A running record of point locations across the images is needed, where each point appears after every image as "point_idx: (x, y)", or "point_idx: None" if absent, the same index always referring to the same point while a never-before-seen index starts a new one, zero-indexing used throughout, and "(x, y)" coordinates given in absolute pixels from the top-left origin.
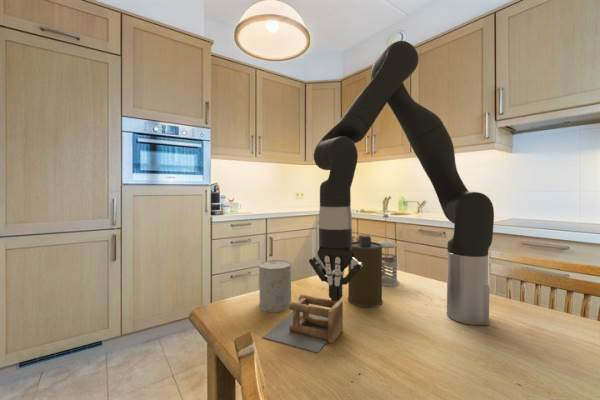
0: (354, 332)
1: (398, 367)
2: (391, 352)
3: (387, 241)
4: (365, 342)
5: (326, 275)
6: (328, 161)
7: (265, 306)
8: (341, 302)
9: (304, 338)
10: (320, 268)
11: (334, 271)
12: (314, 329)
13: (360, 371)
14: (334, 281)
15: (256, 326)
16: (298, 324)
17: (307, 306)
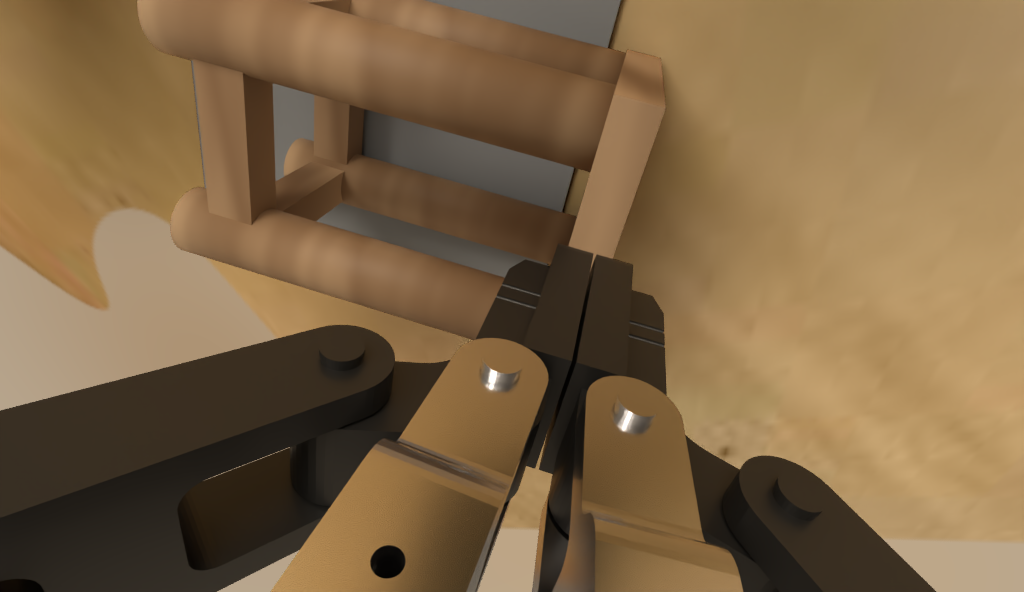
0: (759, 76)
1: (950, 412)
2: (977, 296)
3: None
4: (820, 207)
5: (350, 474)
6: None
7: None
8: (651, 144)
9: (421, 233)
10: (149, 582)
11: (477, 573)
12: (459, 229)
13: (733, 441)
14: (527, 458)
15: (104, 131)
16: (338, 191)
17: (338, 292)
